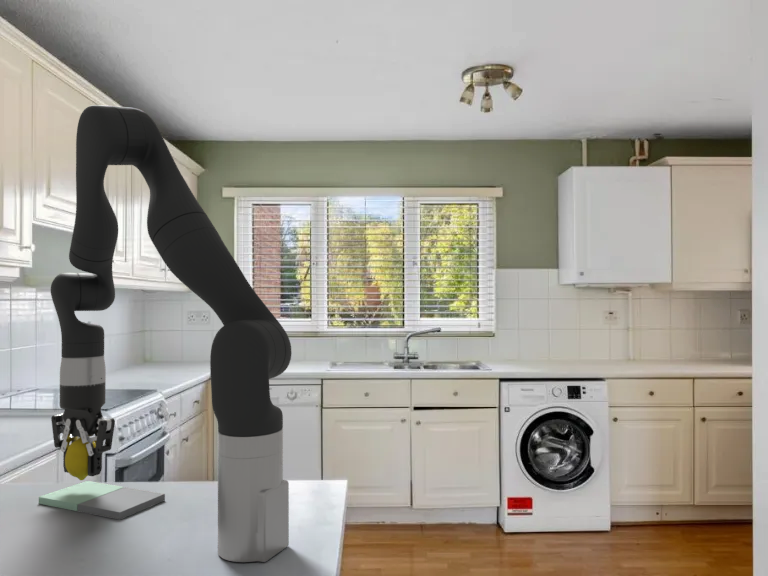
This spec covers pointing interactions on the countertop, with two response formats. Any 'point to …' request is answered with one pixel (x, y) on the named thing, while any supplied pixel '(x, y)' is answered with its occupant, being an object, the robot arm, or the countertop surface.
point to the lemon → (77, 459)
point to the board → (102, 499)
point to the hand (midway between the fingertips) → (82, 472)
